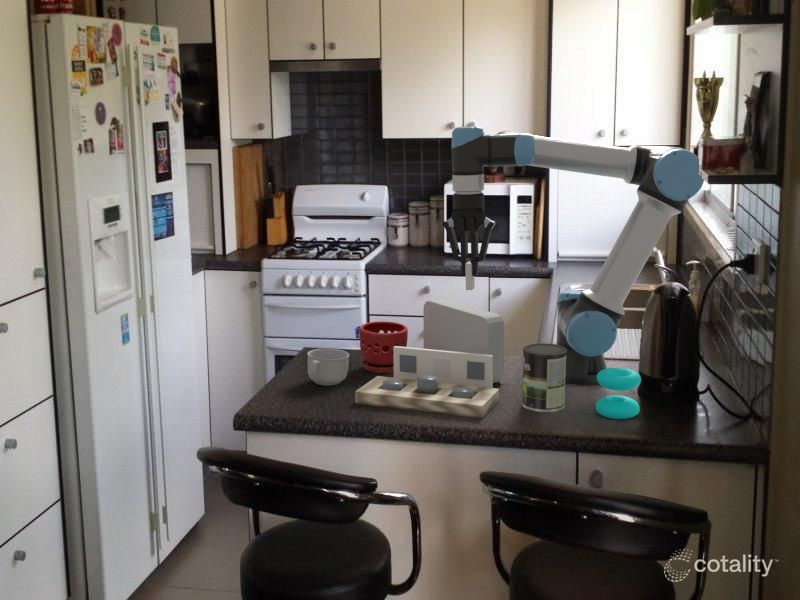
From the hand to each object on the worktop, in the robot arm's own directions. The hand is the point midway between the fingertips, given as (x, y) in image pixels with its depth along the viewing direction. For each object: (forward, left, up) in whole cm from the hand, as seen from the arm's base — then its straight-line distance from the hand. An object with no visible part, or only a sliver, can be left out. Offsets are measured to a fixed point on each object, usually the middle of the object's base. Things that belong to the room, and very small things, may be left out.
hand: (470, 288), depth 236 cm
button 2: (-2, +11, -26) cm, 28 cm away
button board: (+7, +11, -26) cm, 29 cm away
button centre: (+7, +11, -23) cm, 27 cm away
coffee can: (-20, +4, -27) cm, 33 cm away
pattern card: (+7, 0, -27) cm, 27 cm away
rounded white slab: (+7, -16, -27) cm, 32 cm away
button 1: (+16, +11, -26) cm, 32 cm away
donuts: (-37, +3, -27) cm, 46 cm away
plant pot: (+28, -12, -27) cm, 41 cm away
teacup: (+37, +6, -27) cm, 46 cm away
